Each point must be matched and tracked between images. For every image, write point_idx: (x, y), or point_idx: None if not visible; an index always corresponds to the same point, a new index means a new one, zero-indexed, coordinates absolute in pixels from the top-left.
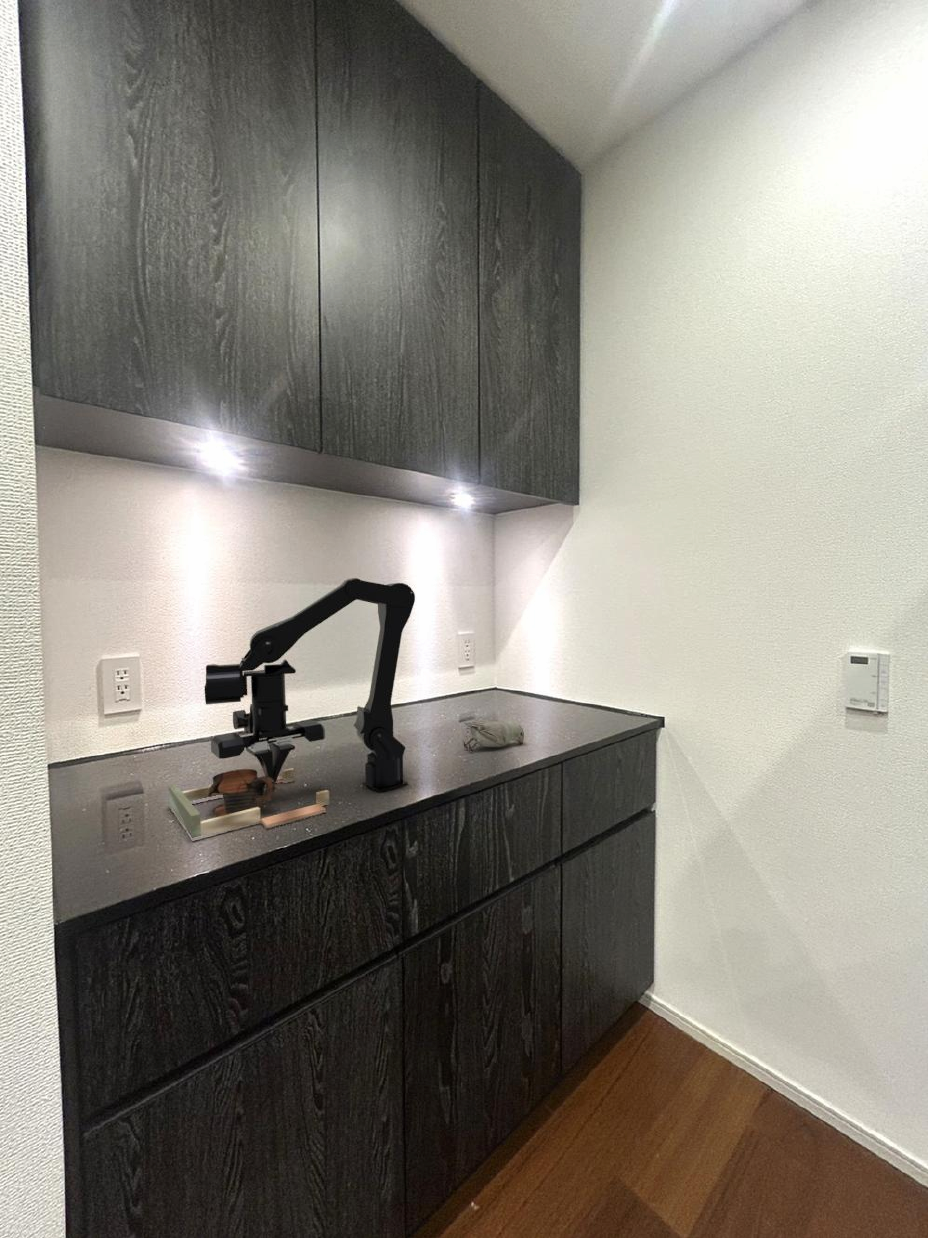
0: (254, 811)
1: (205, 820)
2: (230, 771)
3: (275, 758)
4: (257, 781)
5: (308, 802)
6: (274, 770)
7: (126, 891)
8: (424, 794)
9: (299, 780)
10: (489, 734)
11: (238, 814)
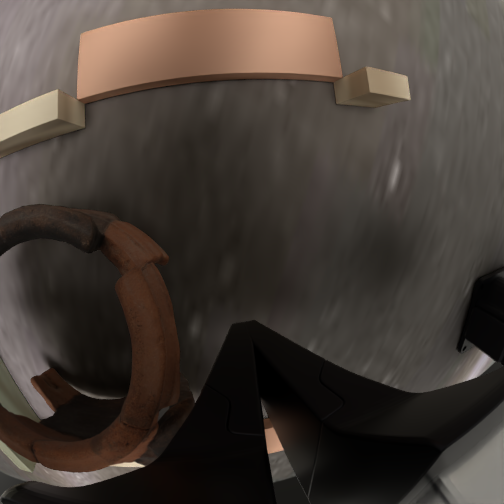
0: None
1: None
2: (18, 452)
3: (311, 481)
4: None
5: (333, 356)
6: (274, 426)
7: (20, 473)
8: (472, 374)
9: (391, 108)
10: None
11: (111, 465)
